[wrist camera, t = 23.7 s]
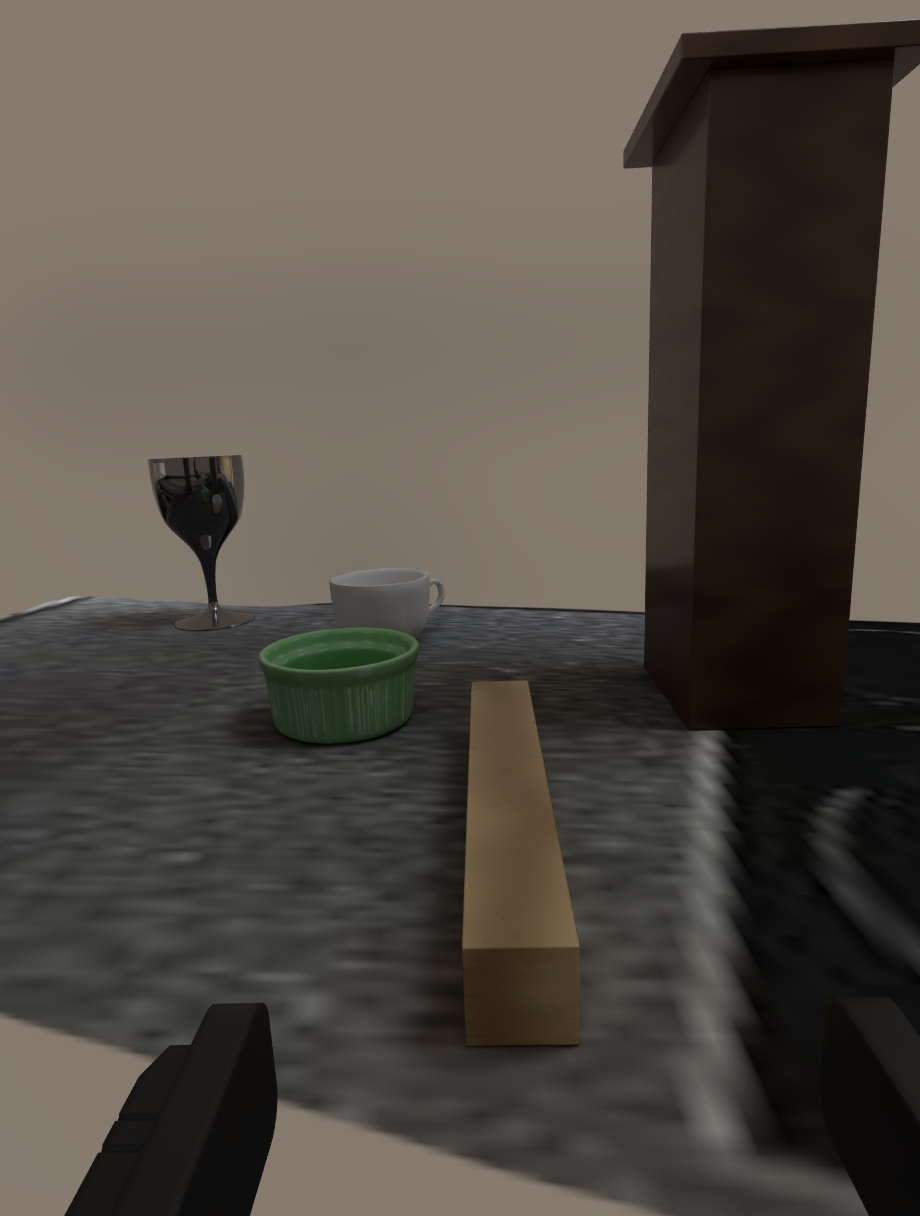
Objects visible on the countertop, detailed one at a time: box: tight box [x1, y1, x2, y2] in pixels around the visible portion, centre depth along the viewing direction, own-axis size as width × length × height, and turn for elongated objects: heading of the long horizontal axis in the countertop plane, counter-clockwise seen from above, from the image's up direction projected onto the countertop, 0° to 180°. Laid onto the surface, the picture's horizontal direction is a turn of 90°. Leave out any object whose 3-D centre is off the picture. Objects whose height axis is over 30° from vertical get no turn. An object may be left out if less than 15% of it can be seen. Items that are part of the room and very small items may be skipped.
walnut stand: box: [624, 19, 920, 730], centre depth 41 cm, size 11×13×32 cm
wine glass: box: [148, 455, 254, 630], centre depth 67 cm, size 8×8×15 cm
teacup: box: [330, 568, 445, 639], centre depth 59 cm, size 10×8×5 cm
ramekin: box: [259, 627, 419, 744], centre depth 42 cm, size 9×9×4 cm
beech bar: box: [462, 680, 580, 1046], centre depth 29 cm, size 3×21×3 cm, turn 178°
